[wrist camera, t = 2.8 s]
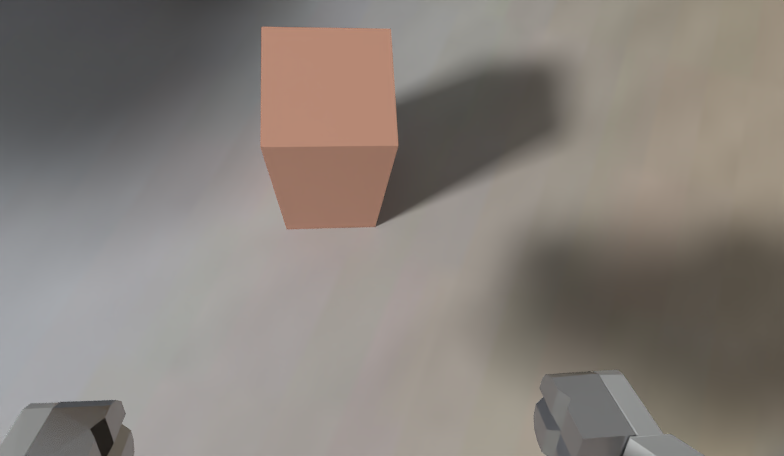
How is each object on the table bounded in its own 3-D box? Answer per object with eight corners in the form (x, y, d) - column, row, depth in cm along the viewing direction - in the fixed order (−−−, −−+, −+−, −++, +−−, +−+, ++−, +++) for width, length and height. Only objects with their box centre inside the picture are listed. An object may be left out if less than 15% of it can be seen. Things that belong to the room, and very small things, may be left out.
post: (286, 229, 24) (260, 147, 15) (286, 147, 25) (261, 26, 16) (375, 226, 24) (398, 145, 16) (371, 146, 25) (390, 28, 17)
